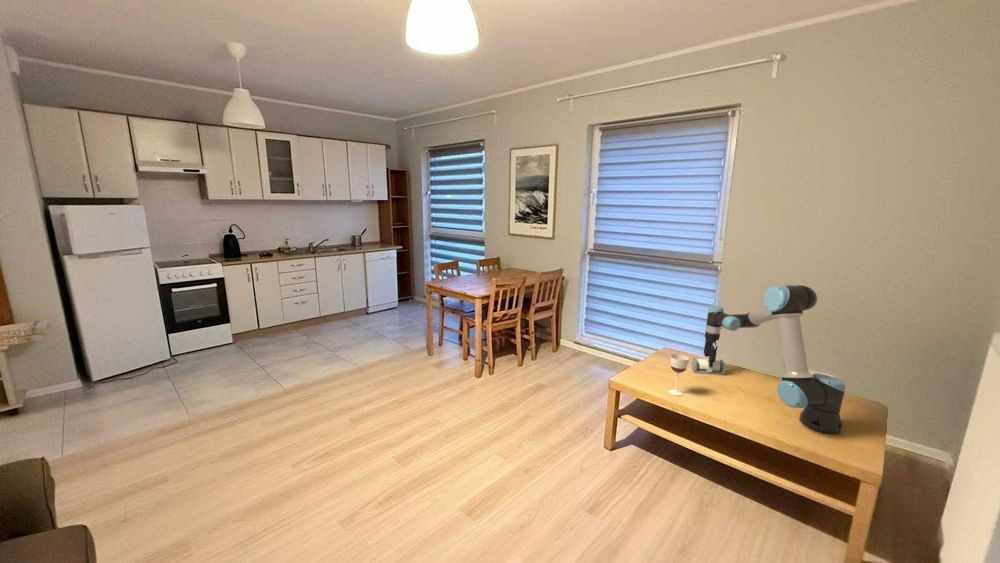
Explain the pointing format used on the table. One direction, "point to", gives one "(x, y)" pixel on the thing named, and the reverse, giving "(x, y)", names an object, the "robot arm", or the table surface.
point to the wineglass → (678, 368)
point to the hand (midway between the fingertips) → (707, 369)
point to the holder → (696, 370)
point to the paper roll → (703, 365)
